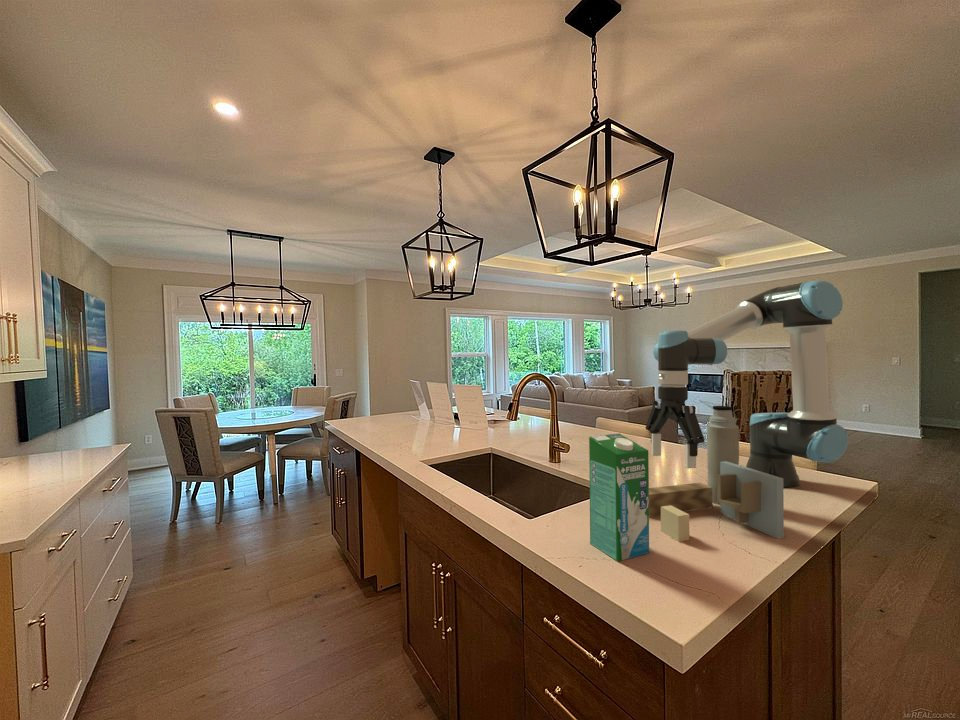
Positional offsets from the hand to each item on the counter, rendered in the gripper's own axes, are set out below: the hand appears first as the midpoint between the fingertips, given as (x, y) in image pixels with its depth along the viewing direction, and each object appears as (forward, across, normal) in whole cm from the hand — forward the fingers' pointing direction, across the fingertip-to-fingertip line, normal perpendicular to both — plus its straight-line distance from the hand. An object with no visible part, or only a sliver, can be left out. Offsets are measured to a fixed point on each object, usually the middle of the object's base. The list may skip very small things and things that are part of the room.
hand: (672, 461), depth 113 cm
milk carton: (+14, +16, -28) cm, 35 cm away
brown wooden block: (+14, 0, 0) cm, 14 cm away
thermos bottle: (+13, -1, +18) cm, 23 cm away
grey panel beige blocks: (+13, +14, 0) cm, 19 cm away
